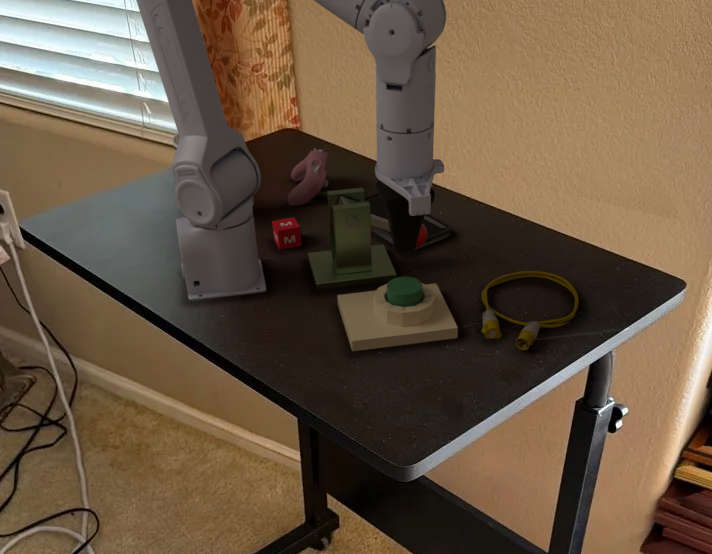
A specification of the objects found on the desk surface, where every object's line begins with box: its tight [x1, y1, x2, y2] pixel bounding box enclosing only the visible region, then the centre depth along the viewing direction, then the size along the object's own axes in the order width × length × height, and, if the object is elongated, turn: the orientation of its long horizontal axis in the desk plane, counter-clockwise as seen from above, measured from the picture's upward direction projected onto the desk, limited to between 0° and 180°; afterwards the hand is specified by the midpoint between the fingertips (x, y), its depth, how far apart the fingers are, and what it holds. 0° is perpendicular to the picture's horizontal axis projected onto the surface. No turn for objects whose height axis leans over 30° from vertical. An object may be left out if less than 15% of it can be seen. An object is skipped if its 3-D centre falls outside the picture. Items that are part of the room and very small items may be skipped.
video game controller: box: [286, 147, 330, 207], centre depth 127 cm, size 10×5×7 cm, turn 179°
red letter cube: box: [271, 217, 302, 251], centre depth 116 cm, size 3×3×3 cm
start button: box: [386, 276, 423, 307], centre depth 99 cm, size 4×4×2 cm
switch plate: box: [337, 282, 459, 352], centre depth 101 cm, size 12×10×4 cm
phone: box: [364, 192, 451, 251], centre depth 120 cm, size 8×1×15 cm
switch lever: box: [337, 196, 427, 248], centre depth 108 cm, size 12×3×3 cm, turn 100°
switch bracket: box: [307, 187, 398, 291], centre depth 108 cm, size 10×8×10 cm
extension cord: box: [480, 270, 579, 351], centre depth 102 cm, size 12×16×2 cm
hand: (404, 248), depth 96 cm, fingers closed
